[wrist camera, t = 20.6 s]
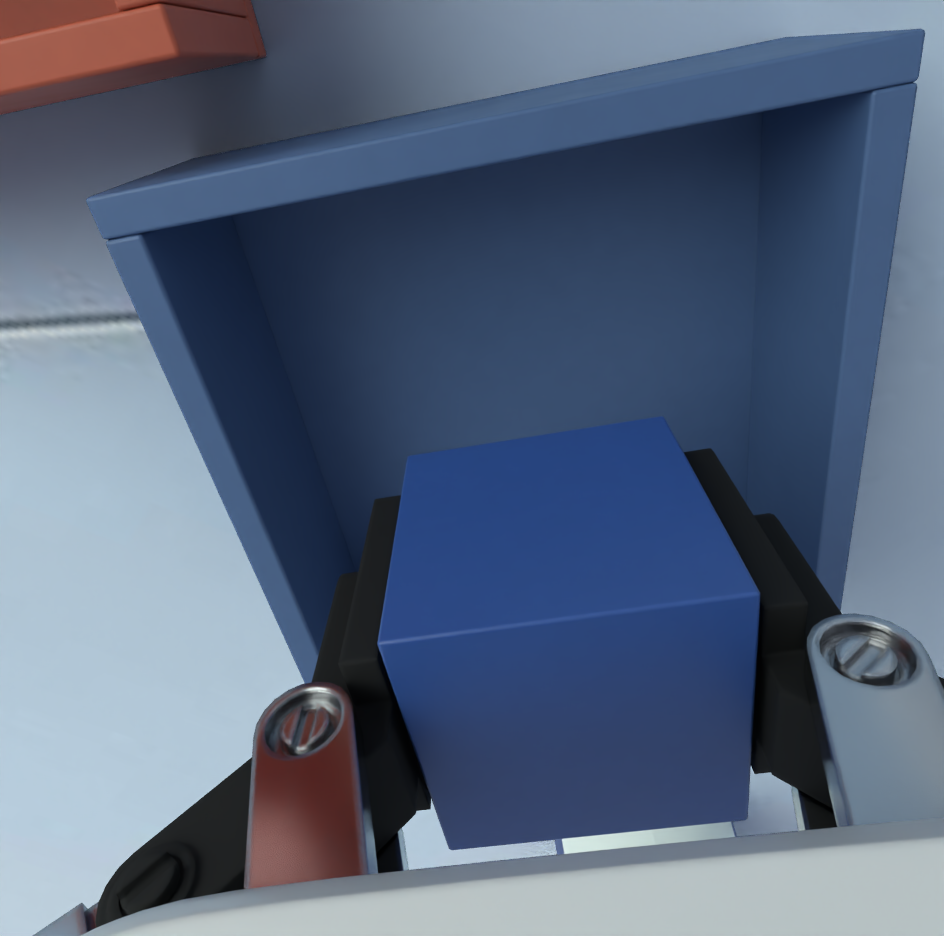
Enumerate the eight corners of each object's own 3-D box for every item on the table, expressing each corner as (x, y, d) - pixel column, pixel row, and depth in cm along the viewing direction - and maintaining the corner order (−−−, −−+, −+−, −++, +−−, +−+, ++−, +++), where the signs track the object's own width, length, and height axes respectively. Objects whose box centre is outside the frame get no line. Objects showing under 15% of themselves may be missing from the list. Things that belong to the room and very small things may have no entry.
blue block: (406, 454, 12) (374, 644, 8) (663, 414, 11) (762, 592, 7) (455, 636, 14) (449, 852, 10) (670, 608, 13) (748, 821, 10)
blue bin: (191, 158, 15) (83, 198, 11) (787, 36, 14) (928, 27, 10) (348, 591, 22) (320, 719, 18) (759, 533, 21) (835, 656, 17)
